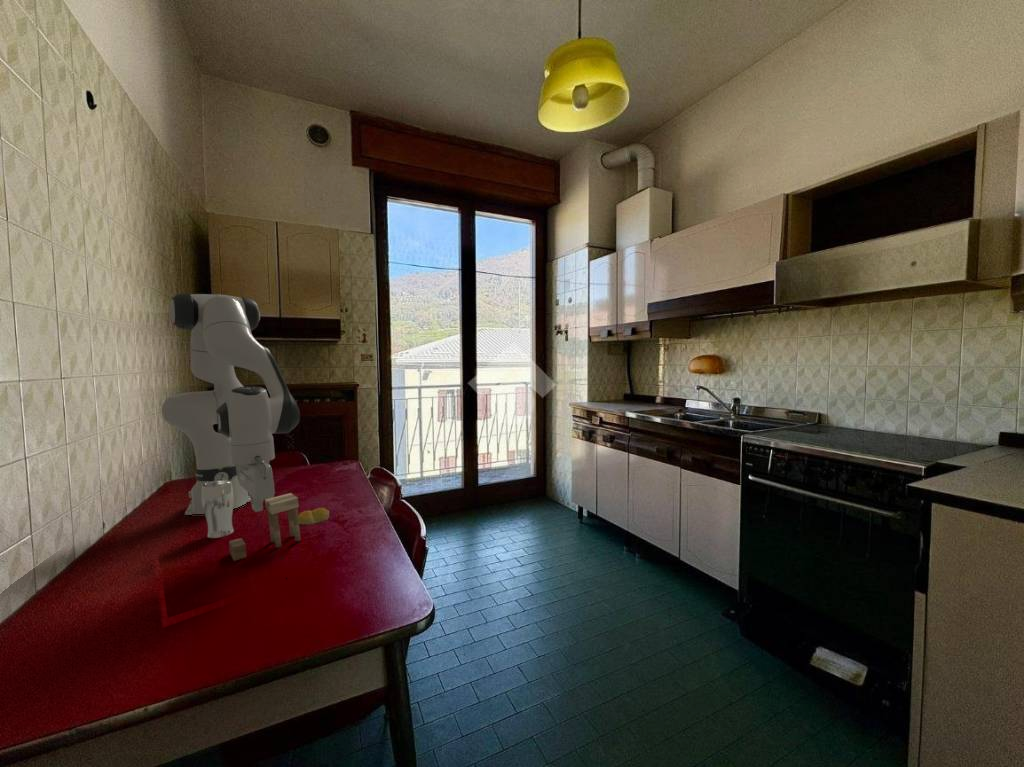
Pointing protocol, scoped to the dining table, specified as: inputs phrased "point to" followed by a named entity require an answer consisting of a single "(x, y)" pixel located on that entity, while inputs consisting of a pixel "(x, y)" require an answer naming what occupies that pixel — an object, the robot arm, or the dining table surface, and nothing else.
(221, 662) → the dining table surface
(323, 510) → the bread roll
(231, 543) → the prop block
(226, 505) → the beer glass
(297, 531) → the stool
